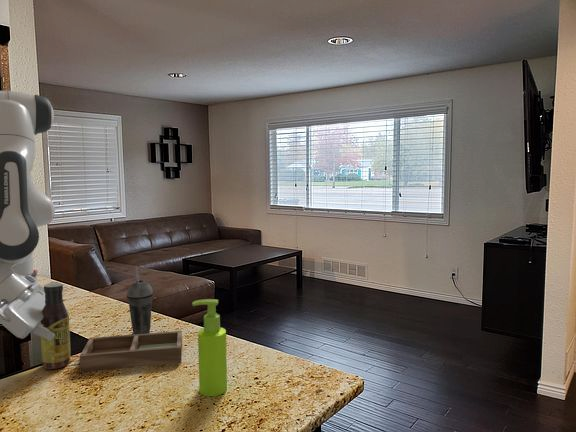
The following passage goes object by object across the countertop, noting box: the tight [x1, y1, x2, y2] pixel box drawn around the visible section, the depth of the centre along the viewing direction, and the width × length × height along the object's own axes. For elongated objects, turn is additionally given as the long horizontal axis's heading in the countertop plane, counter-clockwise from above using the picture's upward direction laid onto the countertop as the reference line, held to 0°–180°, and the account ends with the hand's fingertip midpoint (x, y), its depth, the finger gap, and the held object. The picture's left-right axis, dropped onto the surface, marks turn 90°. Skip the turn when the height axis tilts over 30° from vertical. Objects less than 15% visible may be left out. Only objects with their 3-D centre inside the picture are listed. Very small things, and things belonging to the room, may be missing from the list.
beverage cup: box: [126, 266, 154, 335], centre depth 126 cm, size 7×7×20 cm
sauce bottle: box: [40, 282, 72, 371], centre depth 106 cm, size 7×6×20 cm
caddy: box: [79, 330, 183, 373], centre depth 111 cm, size 11×23×4 cm, turn 102°
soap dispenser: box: [191, 298, 228, 397], centre depth 95 cm, size 6×7×20 cm
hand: (58, 331), depth 107 cm, fingers closed on sauce bottle, 6 cm apart
